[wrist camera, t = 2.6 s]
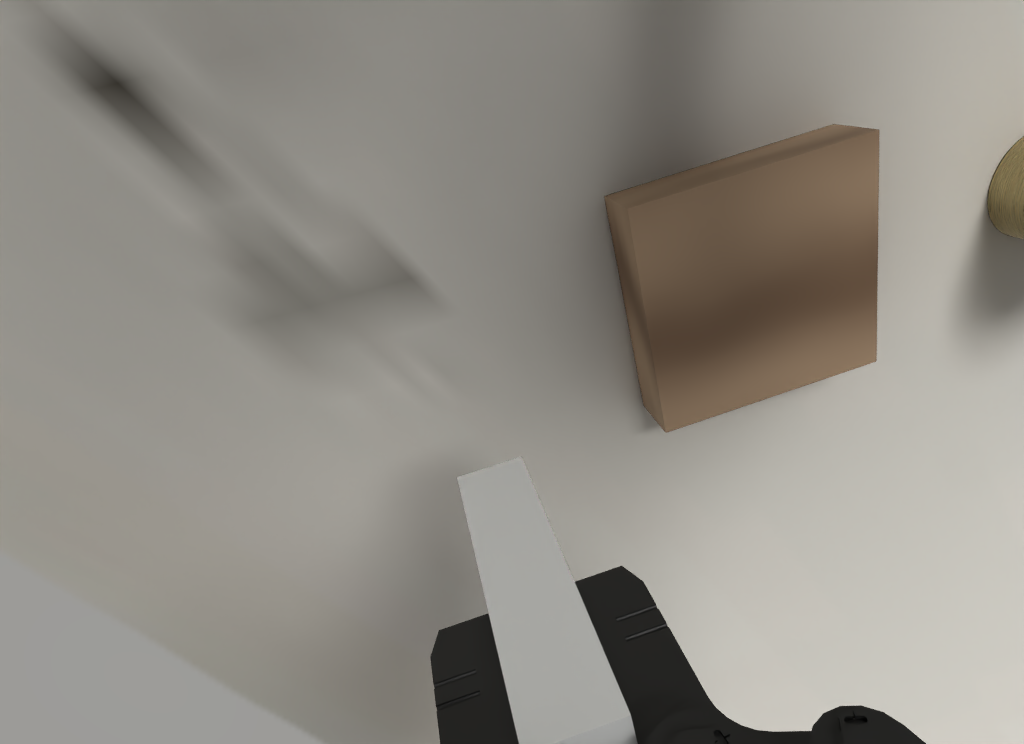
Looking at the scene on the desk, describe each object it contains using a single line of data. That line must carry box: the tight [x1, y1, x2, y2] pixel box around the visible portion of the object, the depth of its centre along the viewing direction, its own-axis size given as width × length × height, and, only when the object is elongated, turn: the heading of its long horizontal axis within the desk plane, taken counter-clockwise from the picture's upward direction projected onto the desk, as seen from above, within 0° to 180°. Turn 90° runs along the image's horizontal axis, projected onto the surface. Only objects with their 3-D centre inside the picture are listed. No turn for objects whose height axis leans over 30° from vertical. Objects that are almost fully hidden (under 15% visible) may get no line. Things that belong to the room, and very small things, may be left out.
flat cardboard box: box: [604, 124, 879, 433], centre depth 22 cm, size 8×8×2 cm
